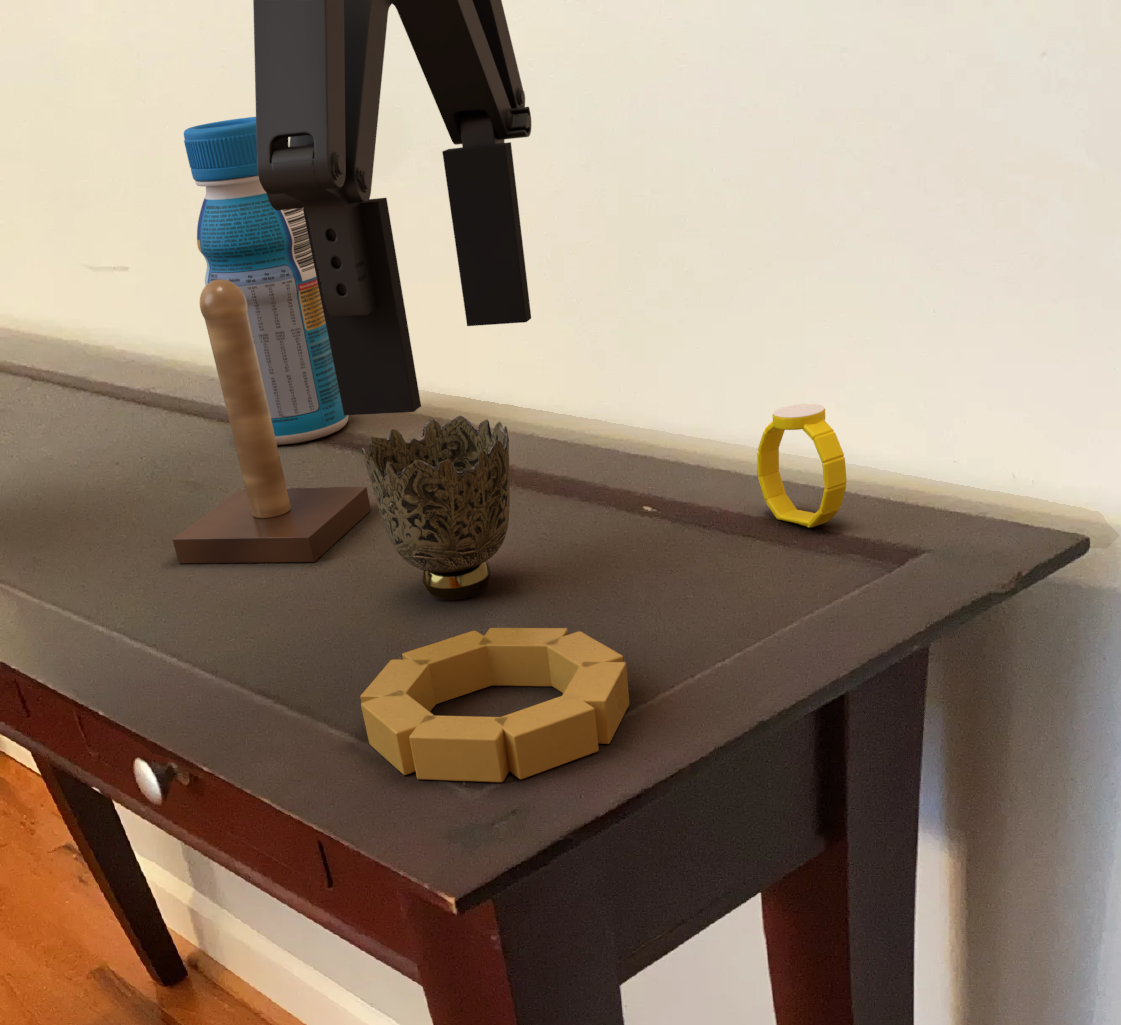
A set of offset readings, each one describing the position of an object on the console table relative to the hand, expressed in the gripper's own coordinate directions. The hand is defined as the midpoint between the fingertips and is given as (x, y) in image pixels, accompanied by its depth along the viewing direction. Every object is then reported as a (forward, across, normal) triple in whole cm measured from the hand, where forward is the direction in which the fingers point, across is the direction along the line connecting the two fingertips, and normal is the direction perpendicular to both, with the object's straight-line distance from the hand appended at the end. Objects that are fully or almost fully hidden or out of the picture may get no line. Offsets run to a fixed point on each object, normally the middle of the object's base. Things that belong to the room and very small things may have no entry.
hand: (446, 363), depth 54 cm
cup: (+14, +12, +6) cm, 20 cm away
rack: (+14, +21, +21) cm, 33 cm away
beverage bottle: (+14, +44, +31) cm, 55 cm away
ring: (+14, -3, -1) cm, 14 cm away
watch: (+14, +22, -11) cm, 29 cm away
